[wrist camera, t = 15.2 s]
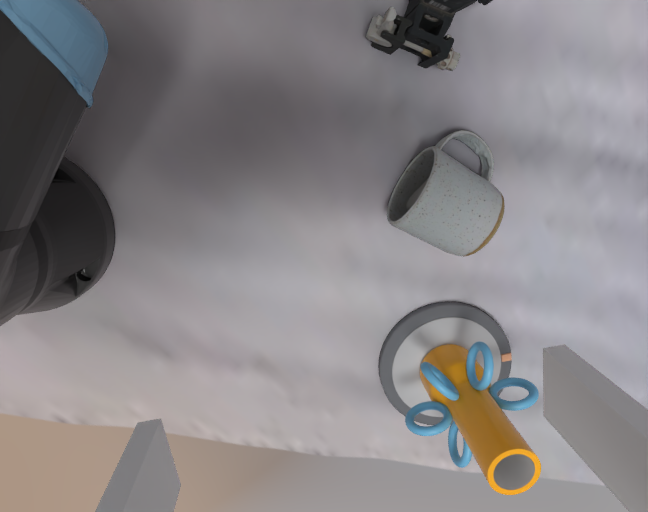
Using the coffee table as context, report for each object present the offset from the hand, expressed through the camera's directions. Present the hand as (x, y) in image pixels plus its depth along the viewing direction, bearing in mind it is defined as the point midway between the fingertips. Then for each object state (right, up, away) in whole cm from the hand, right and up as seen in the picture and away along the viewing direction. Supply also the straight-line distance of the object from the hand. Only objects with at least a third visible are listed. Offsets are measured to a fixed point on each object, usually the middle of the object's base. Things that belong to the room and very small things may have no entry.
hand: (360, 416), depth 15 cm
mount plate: (+12, -6, +33) cm, 36 cm away
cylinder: (+12, -6, +32) cm, 35 cm away
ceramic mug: (+10, +12, +29) cm, 33 cm away
